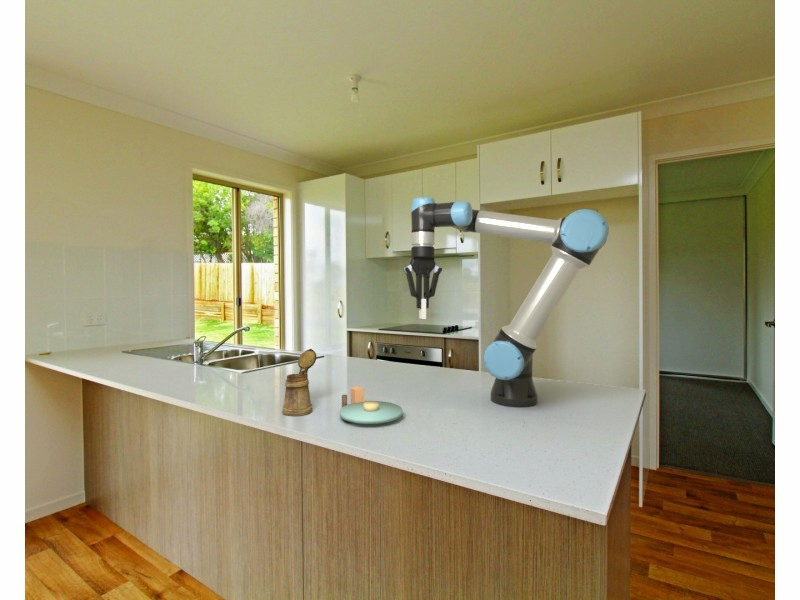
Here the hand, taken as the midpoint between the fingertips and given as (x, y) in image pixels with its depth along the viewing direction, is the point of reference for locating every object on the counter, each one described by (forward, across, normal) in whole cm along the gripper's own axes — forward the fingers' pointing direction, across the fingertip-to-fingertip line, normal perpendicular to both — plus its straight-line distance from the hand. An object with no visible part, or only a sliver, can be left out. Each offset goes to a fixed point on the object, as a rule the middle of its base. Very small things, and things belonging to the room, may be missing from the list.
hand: (422, 318), depth 142 cm
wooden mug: (+28, +39, -1) cm, 48 cm away
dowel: (+27, +26, +5) cm, 38 cm away
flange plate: (+26, +20, +11) cm, 35 cm away
